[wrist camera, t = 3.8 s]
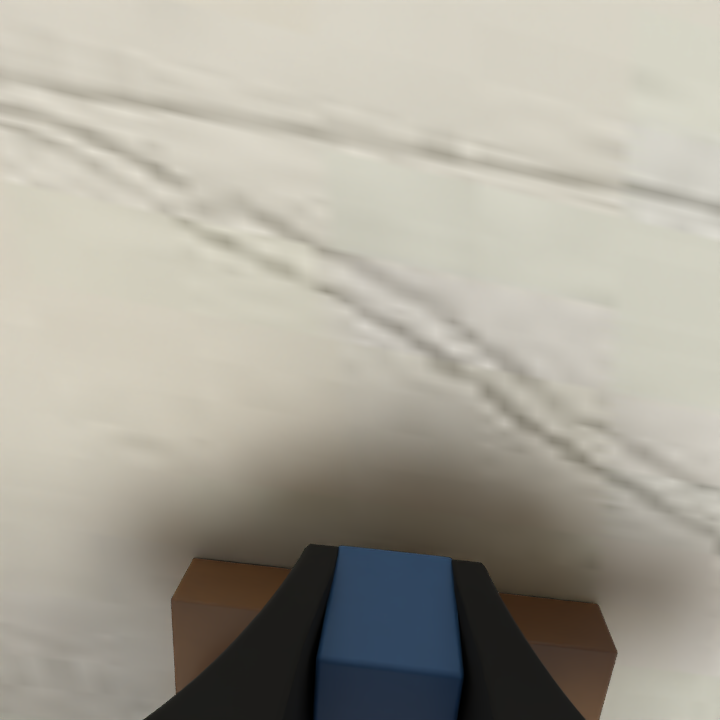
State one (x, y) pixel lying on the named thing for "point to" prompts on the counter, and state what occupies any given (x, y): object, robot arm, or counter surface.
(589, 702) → the platform
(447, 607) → the ring
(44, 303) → the counter surface
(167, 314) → the counter surface
